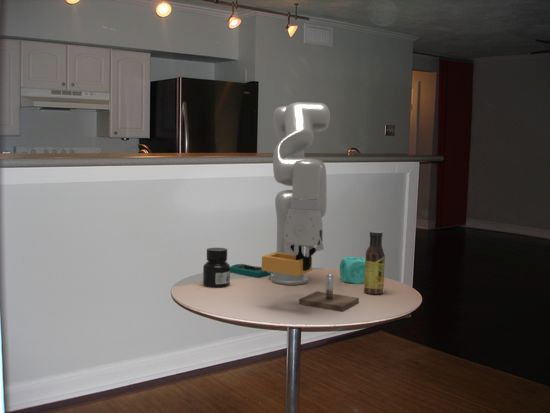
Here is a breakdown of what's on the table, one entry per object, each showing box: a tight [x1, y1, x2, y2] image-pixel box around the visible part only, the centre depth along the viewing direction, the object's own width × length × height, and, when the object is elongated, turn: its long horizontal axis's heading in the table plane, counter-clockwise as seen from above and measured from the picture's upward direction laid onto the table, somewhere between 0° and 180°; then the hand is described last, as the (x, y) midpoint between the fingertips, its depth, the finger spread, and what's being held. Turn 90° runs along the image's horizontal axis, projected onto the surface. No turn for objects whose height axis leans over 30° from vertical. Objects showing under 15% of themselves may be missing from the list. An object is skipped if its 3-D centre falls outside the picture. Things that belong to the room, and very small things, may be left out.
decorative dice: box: [339, 256, 366, 285], centre depth 210 cm, size 8×8×8 cm
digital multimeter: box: [230, 263, 272, 279], centre depth 219 cm, size 7×15×3 cm, turn 52°
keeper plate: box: [298, 273, 360, 313], centre depth 179 cm, size 14×12×9 cm
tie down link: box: [261, 251, 313, 276], centre depth 172 cm, size 12×8×4 cm, turn 60°
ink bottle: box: [202, 247, 231, 288], centre depth 199 cm, size 10×9×12 cm
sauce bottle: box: [363, 230, 386, 295], centre depth 193 cm, size 6×6×20 cm
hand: (303, 268), depth 170 cm, fingers closed on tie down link, 1 cm apart
